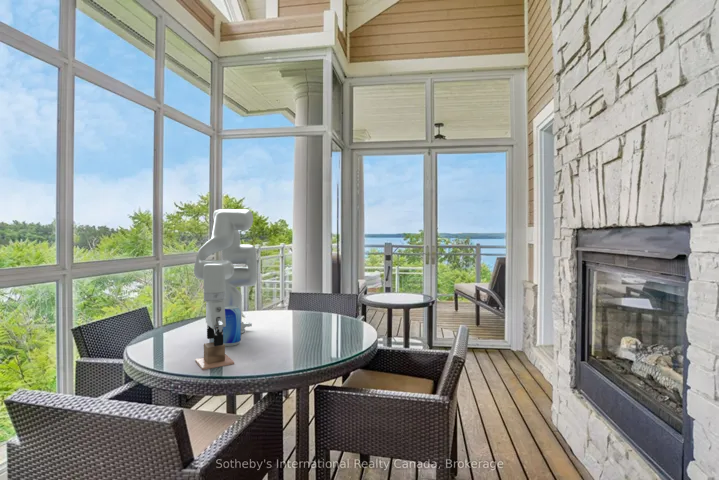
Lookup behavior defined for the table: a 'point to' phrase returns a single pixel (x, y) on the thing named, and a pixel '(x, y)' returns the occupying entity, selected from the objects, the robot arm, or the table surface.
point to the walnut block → (214, 353)
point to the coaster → (204, 365)
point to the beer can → (232, 326)
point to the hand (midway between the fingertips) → (215, 341)
